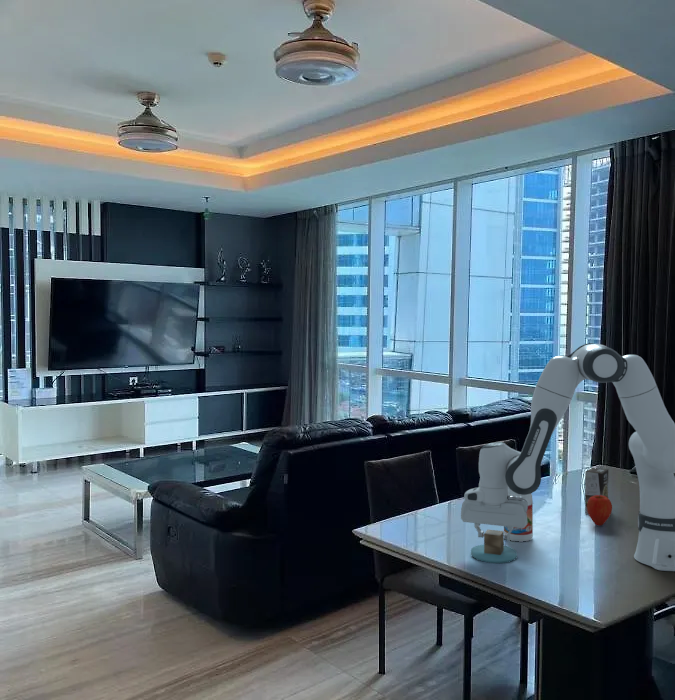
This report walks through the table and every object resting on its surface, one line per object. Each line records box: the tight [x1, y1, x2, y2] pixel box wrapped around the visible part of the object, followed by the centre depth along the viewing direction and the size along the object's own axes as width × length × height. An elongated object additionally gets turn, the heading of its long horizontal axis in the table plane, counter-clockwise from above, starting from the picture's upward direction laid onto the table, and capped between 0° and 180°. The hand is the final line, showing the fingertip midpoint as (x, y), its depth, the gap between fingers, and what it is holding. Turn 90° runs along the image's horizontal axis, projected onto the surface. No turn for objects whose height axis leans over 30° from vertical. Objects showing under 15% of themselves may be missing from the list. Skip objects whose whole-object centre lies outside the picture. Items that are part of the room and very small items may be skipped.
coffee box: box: [584, 467, 609, 515], centre depth 258 cm, size 9×6×16 cm
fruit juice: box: [503, 487, 534, 543], centre depth 229 cm, size 9×9×28 cm
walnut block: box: [483, 529, 505, 555], centre depth 213 cm, size 5×5×6 cm
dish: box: [470, 544, 518, 564], centre depth 213 cm, size 14×14×1 cm
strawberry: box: [587, 495, 613, 527], centre depth 242 cm, size 9×8×11 cm
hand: (493, 538), depth 213 cm, fingers open, 7 cm apart
